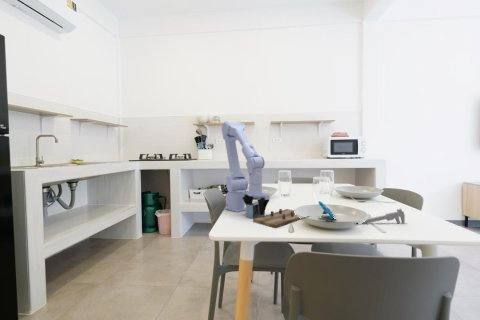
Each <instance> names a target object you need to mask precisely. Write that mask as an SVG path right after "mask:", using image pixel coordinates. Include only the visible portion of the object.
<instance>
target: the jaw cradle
mask: <svg viewBox="0 0 480 320" xmlns="http://www.w3.org/2000/svg"><path fill="white" fill-rule="evenodd" d="M278 210H279V211H276V212H274V211H273V210H272V211H270V213H269V214H265V216H262V217H258V218H255V219H252V222H253V223H256V224H260V225H263V226H266V227H267V226H268V227H271V228H274V229H277V228H281V227H283V226H286V225H289V224H291V223H294V222H296V221H299V220H301V219H300V218H299V217H298V216H297V215H295V213H294V211H295V210H293V209H288V208H287V209H282V208H279V209H278Z"/></svg>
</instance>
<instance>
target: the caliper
mask: <svg viewBox="0 0 480 320" xmlns="http://www.w3.org/2000/svg"><path fill="white" fill-rule="evenodd" d="M366 219H367V220H366V221H365V222H363V223H362V224H361V225H364V224H370V223H374V222H380V221H384V220H386V221H388V222H389V221H394V220H395V221H396V223H397V224H398V225H400V224H401V223H402V224H405V222H406V221H405V219H406V218H405V213H404V211H403V210H402V208H399V209H398V208H397V209H396V211H394V212H393V211H392V212H388V213H385V214H384V215H380V216H379V215H378V216H375V217H369V218H366Z"/></svg>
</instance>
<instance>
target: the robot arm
mask: <svg viewBox="0 0 480 320" xmlns="http://www.w3.org/2000/svg"><path fill="white" fill-rule="evenodd" d="M221 134H222V139H223V140H224V144H225V148H226V154H227V155H226V157H227V159H228V160H227V161H228V167H229V174H228V175H227V176H226V184H225V186H226V189H227V190H228V191H227V192H226V195H225V207H224V209H225V210H228V211H232V212H235V213H240V212H243V211H246V204H249V203H253V200H254V198H257V201H256V202H258V204H259V212H260V215H264V212H265V213H266V208H267V206H268V204H269V203H270V194H266V193H264V192H263V172H262V171H263V170H262V169H264V167H265V159H264V157H263V156H262V155H260V154H259V153H257V150H256V148H255V146H254V145H253V144H252V143H249V140H248V137H247V136H246V133H245V125H244V123H243V122H242V121H239V122H238V121H237V122H236V121H227V120H226V121H224V122H223V123H222V127H221ZM236 141H238V142H239V144H240V145H241V152H242V154H243V156H244V157H245V160H246V164H245V166H246V168H247V173H248V179H247V176H246V174H245V173H244V172H242V171H241V166H240V161H239V155H238V154H239V153H238V149H237V143H236ZM248 188H249V189H248ZM247 190H248V191H247Z"/></svg>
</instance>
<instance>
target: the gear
mask: <svg viewBox="0 0 480 320" xmlns="http://www.w3.org/2000/svg"><path fill="white" fill-rule="evenodd" d="M318 205H319V206H320V207H321V209H323V211H322V213H321V214H326V215H327V214H328V216H329V217H330V218H332V216H333V215H334V213H333V212H332V211H331V209H330V208H329V207H328V206H326V204H324V203H323V202H322V201H318ZM332 213H333V214H332ZM334 216H335V215H334ZM334 216H333V217H334Z"/></svg>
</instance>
